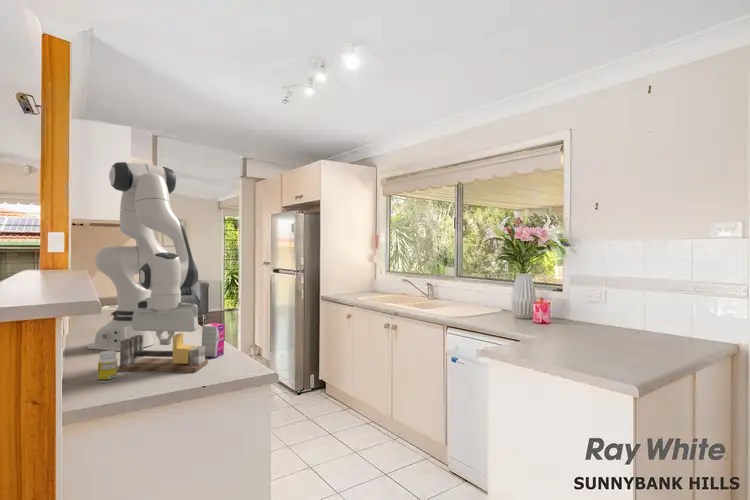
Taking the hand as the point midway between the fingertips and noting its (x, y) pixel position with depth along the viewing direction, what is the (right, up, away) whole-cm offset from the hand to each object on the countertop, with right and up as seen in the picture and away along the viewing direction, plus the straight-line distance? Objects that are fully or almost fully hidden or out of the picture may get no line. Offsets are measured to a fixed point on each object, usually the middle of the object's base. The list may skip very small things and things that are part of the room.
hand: (165, 344), depth 138 cm
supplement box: (+10, -8, +15) cm, 19 cm away
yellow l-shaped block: (+6, -6, 0) cm, 8 cm away
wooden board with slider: (0, -7, 0) cm, 7 cm away
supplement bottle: (-10, -8, -14) cm, 19 cm away
